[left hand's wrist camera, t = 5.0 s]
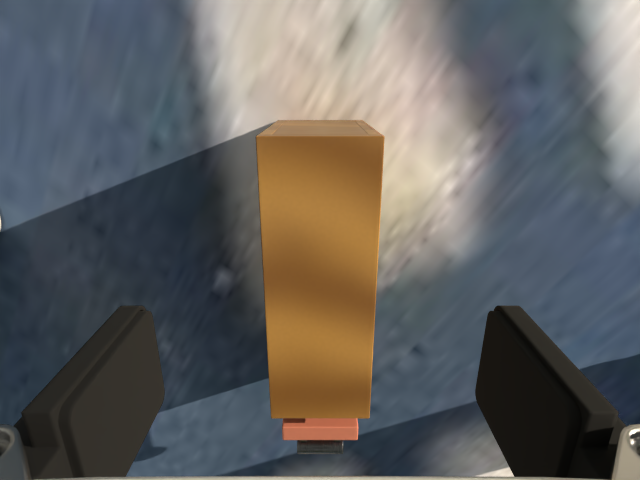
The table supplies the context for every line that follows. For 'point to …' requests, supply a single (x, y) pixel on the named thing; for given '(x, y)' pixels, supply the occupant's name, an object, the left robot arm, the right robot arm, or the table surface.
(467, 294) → the table surface
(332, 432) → the drawer
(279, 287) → the box
